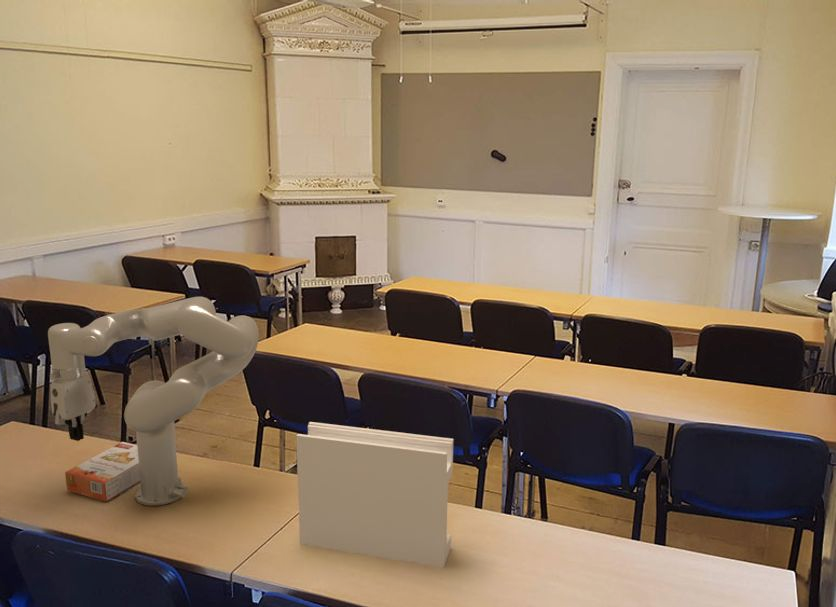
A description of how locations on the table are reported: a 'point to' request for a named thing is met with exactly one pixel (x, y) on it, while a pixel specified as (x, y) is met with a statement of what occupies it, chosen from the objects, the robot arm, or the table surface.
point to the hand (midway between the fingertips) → (76, 438)
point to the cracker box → (106, 473)
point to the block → (374, 492)
